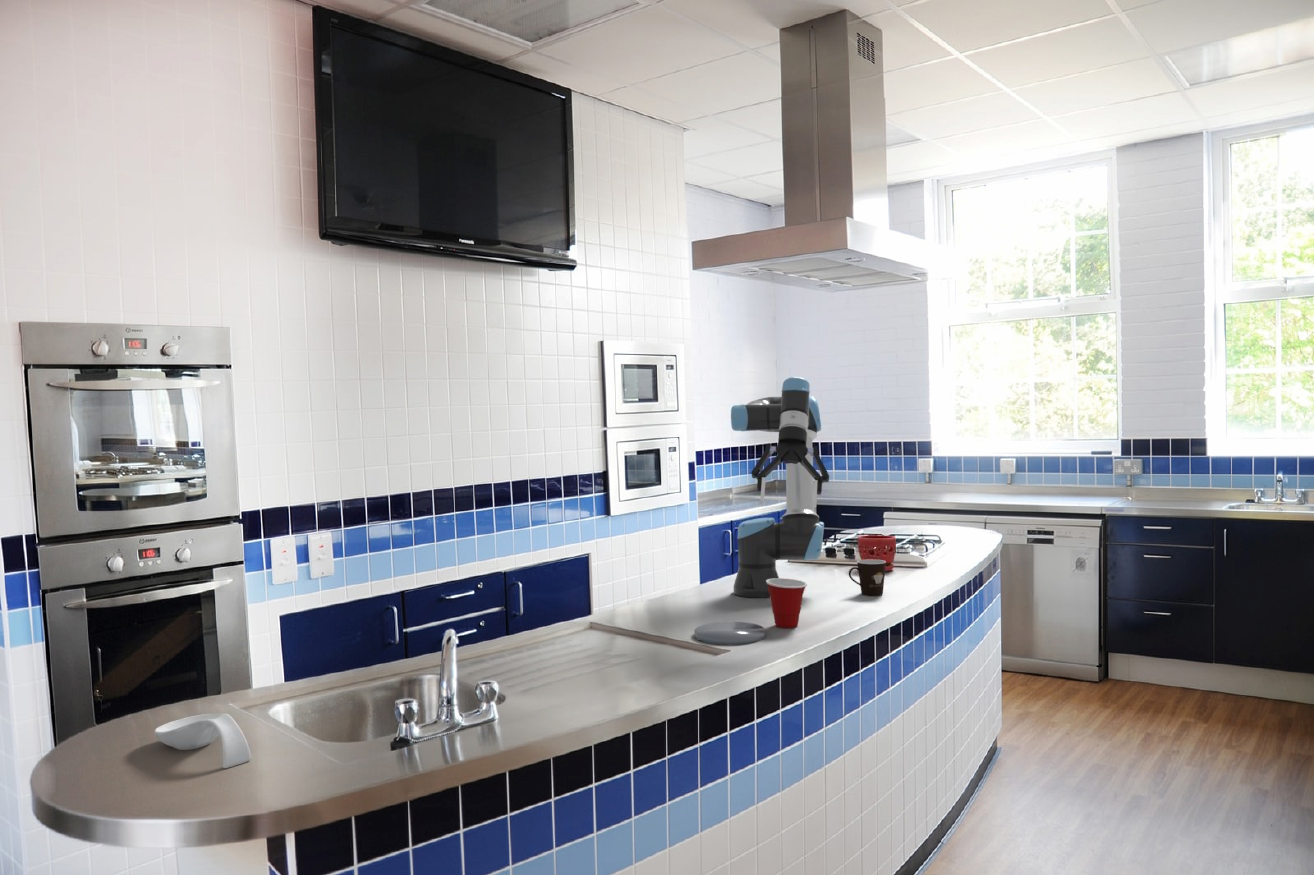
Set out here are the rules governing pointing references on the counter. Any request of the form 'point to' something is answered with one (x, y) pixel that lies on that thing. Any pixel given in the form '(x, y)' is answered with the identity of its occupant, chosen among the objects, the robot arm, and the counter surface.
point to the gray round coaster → (729, 633)
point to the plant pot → (878, 548)
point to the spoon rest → (207, 736)
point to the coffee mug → (870, 576)
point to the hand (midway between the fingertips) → (788, 504)
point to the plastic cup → (786, 600)
